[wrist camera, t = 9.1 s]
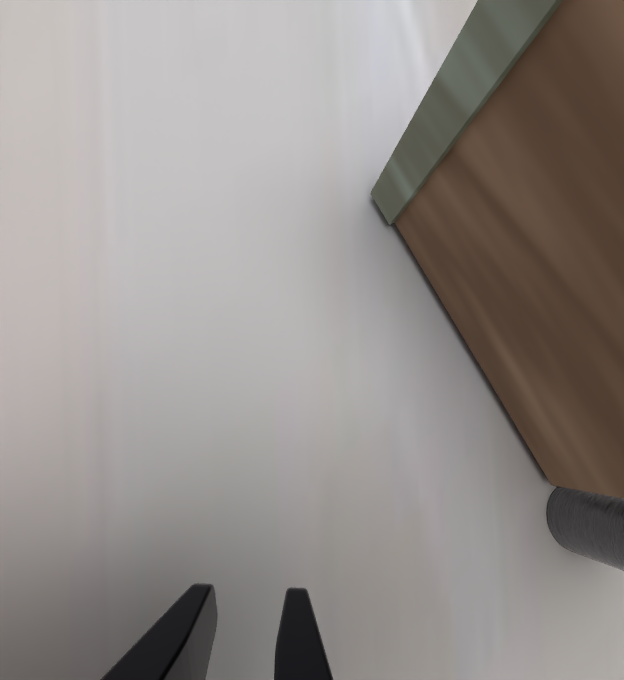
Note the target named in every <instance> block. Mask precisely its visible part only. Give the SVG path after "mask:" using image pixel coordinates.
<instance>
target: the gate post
mask: <svg viewBox="0 0 624 680" xmlns="http://www.w3.org/2000/svg"><path fill="white" fill-rule="evenodd" d="M547 520H548V525H549V528H550V530H551V533H552V534H553V536H554V538H555V539H556V540H557V541H558V543H559V544H560V545H562V546H563V547H564V548H566V549H568V550H570V551H572V552H575V553H578V554H580V555H583V556H586V557H588V558H591V559H594V560H596V561H599V562H602V563H604V564H607V565H610V566H612V567H615V568H618V569H620V570H623V571H624V498H618V497H613V496H608V495H602V494H597V493H592V492H586V491H581V490H576V489H570V488H565V487H557V488H556V489H555V491H554V492H553V493H552V495H551V497H550V499H549V502H548V506H547Z"/></svg>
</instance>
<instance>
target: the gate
mask: <svg viewBox="0 0 624 680" xmlns="http://www.w3.org/2000/svg"><path fill="white" fill-rule="evenodd" d="M371 195H372V197H373V198H374V200H375V202H376V204H377V205H378V207H379V209H380V210H381V212H382V214H383V215H384V217H385V219H386V220H387V222H388V224H389V225H391V224H393V223H395V224H396V226H397V228H398V229H399V231H400V233H401V234H402V236H403V238H404V239H405V241H406V243H407V244H408V246H409V248H410V249H411V251H412V253H413V254H414V256H415V258H416V259H417V261H418V263H419V264H420V266H421V268H422V269H423V271H424V273H425V274H426V276H427V278H428V279H429V281H430V283H431V285H432V286H433V288H434V290H435V291H436V293H437V295H438V296H439V298H440V300H441V301H442V303H443V305H444V306H445V308H446V310H447V311H448V313H449V315H450V316H451V318H452V320H453V321H454V323H455V325H456V326H457V328H458V330H459V331H460V333H461V335H462V336H463V338H464V340H465V341H466V343H467V345H468V346H469V348H470V350H471V351H472V353H473V355H474V356H475V358H476V360H477V361H478V363H479V365H480V367H481V368H482V370H483V372H484V373H485V375H486V377H487V378H488V380H489V382H490V383H491V385H492V387H493V388H494V390H495V392H496V393H497V395H498V397H499V398H500V400H501V402H502V403H503V405H504V407H505V408H506V410H507V412H508V413H509V415H510V417H511V418H512V420H513V422H514V423H515V425H516V427H517V428H518V430H519V432H520V433H521V435H522V437H523V438H524V440H525V442H526V443H527V445H528V447H529V449H530V450H531V452H532V454H533V455H534V457H535V459H536V460H537V462H538V464H539V465H540V467H541V469H542V470H543V472H544V474H545V475H546V477H547V479H548V480H549V482H550V484H551V485H554V486H559V487H565V488H570V489H576V490H581V491H586V492H592V493H597V494H602V495H608V496H613V497H618V498H624V0H478V1H477V3H476V5H475V7H474V9H473V10H472V12H471V14H470V16H469V17H468V19H467V21H466V23H465V25H464V26H463V28H462V30H461V32H460V34H459V35H458V37H457V39H456V41H455V43H454V44H453V46H452V48H451V50H450V52H449V53H448V55H447V57H446V59H445V60H444V62H443V64H442V66H441V68H440V69H439V71H438V73H437V75H436V77H435V78H434V80H433V82H432V84H431V86H430V87H429V89H428V91H427V93H426V95H425V96H424V98H423V100H422V102H421V103H420V105H419V107H418V109H417V111H416V112H415V114H414V116H413V118H412V120H411V121H410V123H409V125H408V127H407V129H406V130H405V132H404V134H403V136H402V138H401V139H400V141H399V143H398V145H397V146H396V148H395V150H394V152H393V154H392V155H391V157H390V159H389V161H388V163H387V164H386V166H385V168H384V170H383V172H382V173H381V175H380V177H379V179H378V181H377V182H376V184H375V186H374V188H373V189H372V191H371Z"/></svg>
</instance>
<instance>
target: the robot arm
mask: <svg viewBox="0 0 624 680" xmlns="http://www.w3.org/2000/svg"><path fill="white" fill-rule="evenodd" d="M216 626H217V607H216V598H215V589H214V586H213V585H211V584H199V583H197V584H194V585H192V586H191V587H190V588H189V589H188V590H187V591H186V592H185V593H184V594H183V595H182V596H181V597H180V598H179V599H178V600H177V601H176V602H175V603H174V604H173V605H172V606H171V607H170V609H169V610H168V611H167V612H166V613H165V614H164V615H163V616H162V617H161V618H160V619H159V620H158V621H157V622H156V623H155V624H154V625H153V626H152V627H151V628H150V629H149V630H148V631H147V632H146V633H145V634H144V635H143V636H142V637H141V639H140V640H139V641H138V642H137V643H136V644H135V645H134V646H133V647H132V648H131V649H130V650H129V651H128V652H127V653H126V654H125V655H124V656H123V657H122V658H121V659H120V660H119V661H118V662H117V663H116V664H115V665H114V666H113V667H112V668H111V670H110V671H109V672H108V673H107V674H106V675H105V676H104V677H103V678H102V679H101V680H205V677H206V673H207V668H208V663H209V659H210V654H211V650H212V645H213V640H214V636H215V631H216ZM274 680H333V677H332V674H331V670H330V667H329V663H328V660H327V657H326V653H325V650H324V646H323V643H322V639H321V636H320V632H319V629H318V625H317V622H316V619H315V615H314V612H313V608H312V605H311V601H310V598H309V594H308V591H307V590H306V589H305V588H288V589H287V591H286V595H285V600H284V605H283V611H282V616H281V621H280V626H279V631H278V636H277V642H276V650H275V669H274Z"/></svg>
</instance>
